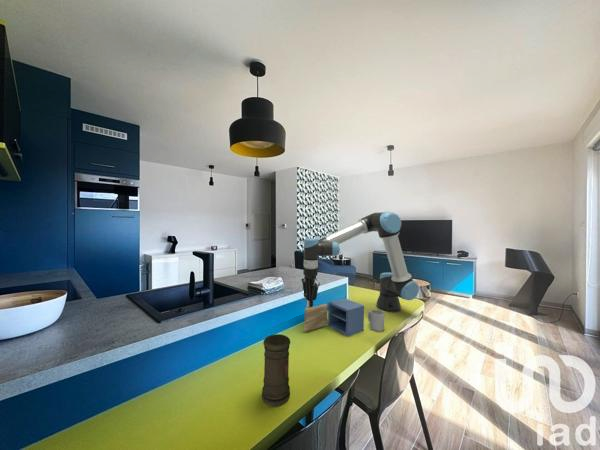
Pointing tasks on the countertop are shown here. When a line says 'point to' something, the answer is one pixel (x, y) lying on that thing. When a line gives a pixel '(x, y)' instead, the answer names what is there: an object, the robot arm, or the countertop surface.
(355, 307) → the cabinet
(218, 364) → the countertop surface
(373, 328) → the cup
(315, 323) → the door
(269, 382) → the container
